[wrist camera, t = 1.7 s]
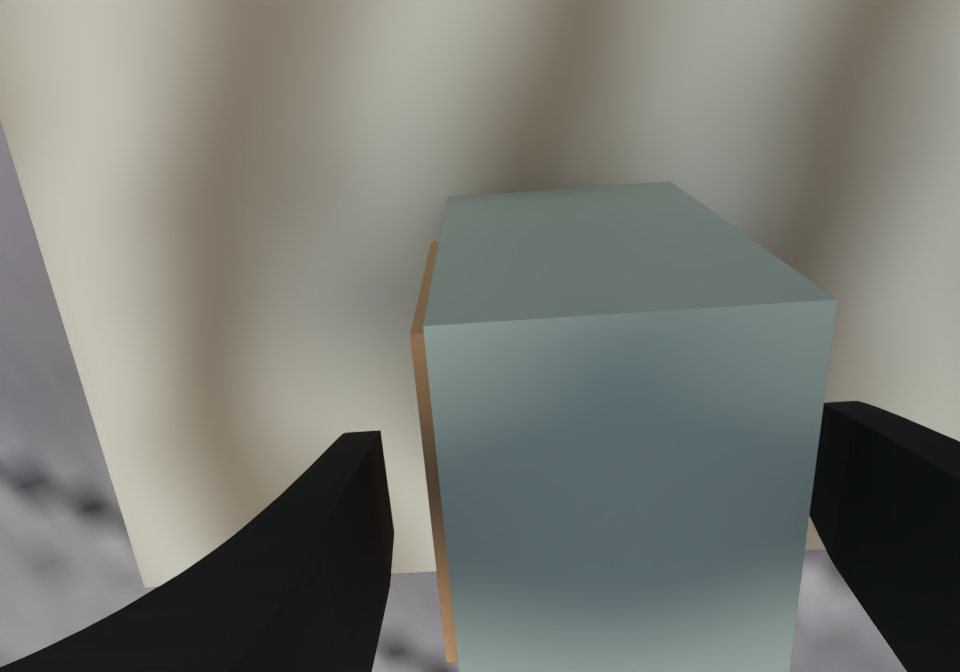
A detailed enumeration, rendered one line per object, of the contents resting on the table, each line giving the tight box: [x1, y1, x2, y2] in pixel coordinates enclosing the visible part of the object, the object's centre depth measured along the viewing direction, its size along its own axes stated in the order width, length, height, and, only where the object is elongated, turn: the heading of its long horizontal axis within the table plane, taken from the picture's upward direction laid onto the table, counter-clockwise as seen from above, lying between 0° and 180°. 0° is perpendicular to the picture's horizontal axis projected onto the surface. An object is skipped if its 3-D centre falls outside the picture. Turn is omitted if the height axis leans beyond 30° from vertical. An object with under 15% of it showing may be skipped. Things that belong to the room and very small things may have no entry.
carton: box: [410, 181, 837, 672], centre depth 14 cm, size 5×7×8 cm
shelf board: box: [0, 0, 960, 588], centre depth 17 cm, size 24×18×2 cm
